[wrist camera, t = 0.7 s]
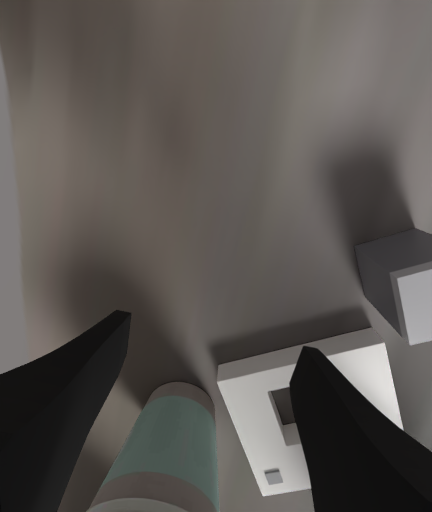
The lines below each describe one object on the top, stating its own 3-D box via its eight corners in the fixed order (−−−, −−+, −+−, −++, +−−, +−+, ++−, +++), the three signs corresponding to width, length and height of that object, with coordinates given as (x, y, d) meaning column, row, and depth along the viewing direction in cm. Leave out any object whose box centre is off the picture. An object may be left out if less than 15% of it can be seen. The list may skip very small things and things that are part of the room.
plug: (423, 281, 21) (491, 326, 15) (365, 297, 22) (409, 345, 16) (415, 228, 20) (484, 255, 14) (353, 246, 21) (396, 278, 15)
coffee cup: (127, 365, 25) (34, 536, 14) (231, 369, 24) (225, 552, 13) (136, 445, 28) (64, 645, 16) (230, 450, 27) (224, 663, 16)
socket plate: (399, 448, 26) (413, 473, 23) (261, 473, 28) (263, 498, 25) (372, 327, 22) (386, 344, 20) (218, 364, 24) (216, 384, 22)
